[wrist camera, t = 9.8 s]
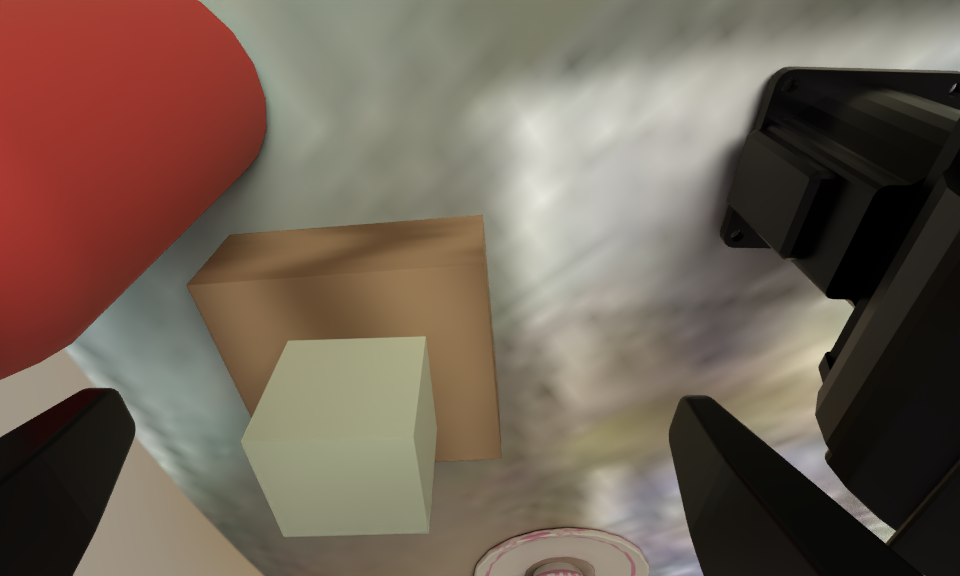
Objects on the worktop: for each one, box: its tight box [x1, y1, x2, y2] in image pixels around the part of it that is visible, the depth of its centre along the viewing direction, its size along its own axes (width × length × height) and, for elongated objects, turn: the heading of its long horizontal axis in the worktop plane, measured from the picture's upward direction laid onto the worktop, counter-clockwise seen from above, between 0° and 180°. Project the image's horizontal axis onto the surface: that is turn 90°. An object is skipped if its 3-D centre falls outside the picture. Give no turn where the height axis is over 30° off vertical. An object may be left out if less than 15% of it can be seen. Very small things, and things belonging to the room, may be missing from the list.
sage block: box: [241, 336, 437, 537], centre depth 18 cm, size 5×5×4 cm
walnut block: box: [187, 215, 501, 462], centre depth 21 cm, size 10×10×4 cm
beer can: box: [0, 0, 266, 380], centre depth 12 cm, size 7×7×12 cm
